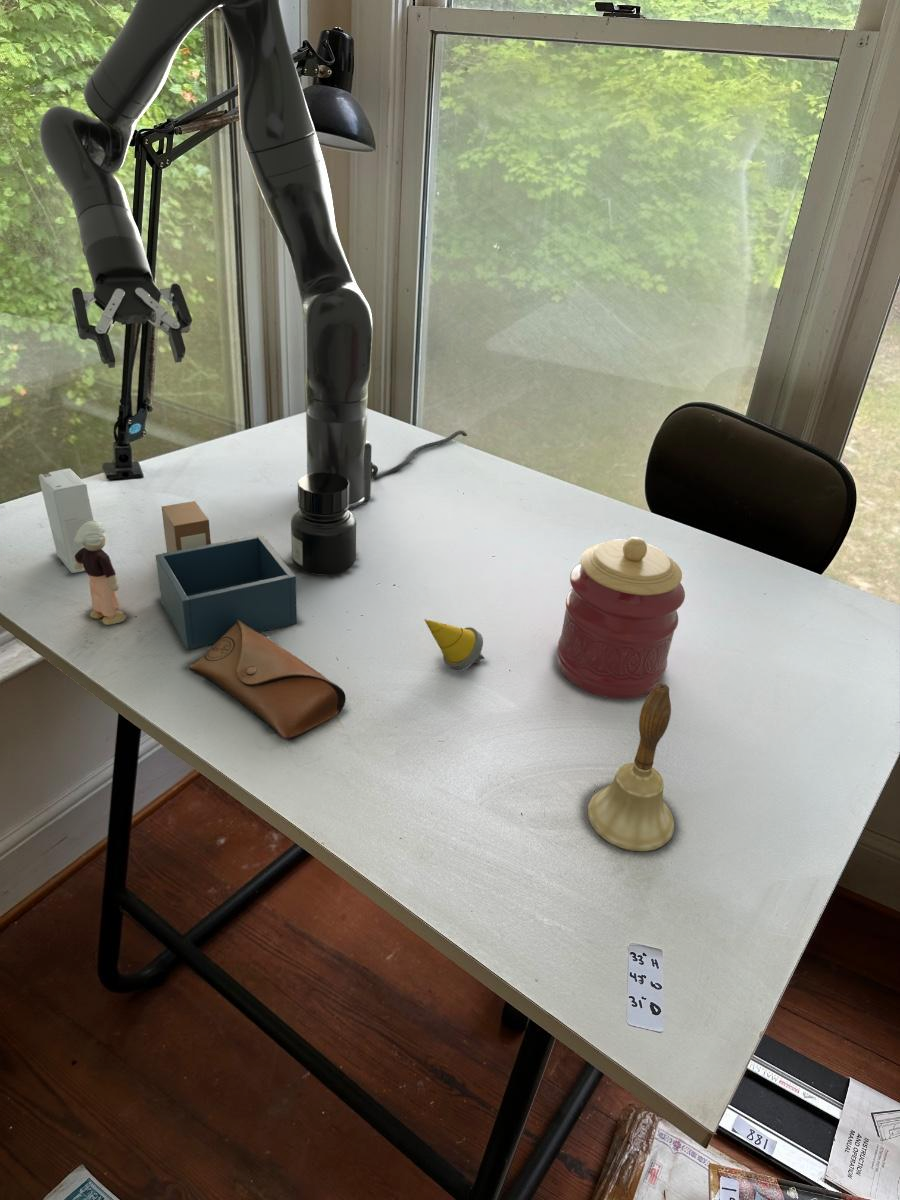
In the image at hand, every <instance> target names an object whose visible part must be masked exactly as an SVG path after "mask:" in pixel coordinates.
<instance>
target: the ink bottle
mask: <svg viewBox="0 0 900 1200" xmlns="http://www.w3.org/2000/svg"><path fill="white" fill-rule="evenodd" d="M349 490H350V483H349V482H348V479H346V478H344V477H343V476H340V475H337V474H334V473H326V472H323V473H312V474H308V475H307V474H305V475H303V476H302V477H300V478H299V480H298V481H297V503H298V510H297V511H296V512H295V513H294V514H293V515H292V517H291V520H290V539H291V541H290V543H291V544H290V545H291V560H292V563H293V565H294V566H295V568H297V569H298V570H299V571H301V572H304V573H307V574H311V575H315V576H317V575H318V576H334V575H339V574H342V573H344V572H347V571H348V570H349V569H351V568H352V567H353V566H354V564H355V563H356V560H357V525H358V524H357V519H356V517H355V515H354V513H352V511H350V510H349V509H350V508H349Z"/></svg>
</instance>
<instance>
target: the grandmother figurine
mask: <svg viewBox="0 0 900 1200" xmlns="http://www.w3.org/2000/svg"><path fill="white" fill-rule="evenodd" d="M74 541H75V542H76V543H78V544H83V546H84V548H82V549H81V550H79V551H78V552H77V553H76V554H75V559H76V561H75V562H76V563H75V567H76V568H77V569H82V568H83V567H84V569H85V571H84V572H85V574H86V575H87V577H88V581H89V582H88V585H89V592H90V597H91V603H92V608H93V610H91V612H90V613H89V616H90V617H91V618H92V619H101V618H102V620H101V622H102V624H103V625H106V626H107V625H109V626H111V625H114V624H119V623H122V622H124V621H126V619H127V615H126V614H125V613H124V611H121V610H117V609H118V608H119V606H120V603H119V599H118V596H117V591H119V589H120V585H119V583H118V579H117V575H116V571H115V569H114V566H113V564H112V561H111V557H110V556H109V554H107V552H105V551H104V550H103V548H104V547H105V545H106V542H107V541H106V536H105V528H104V526H103V524H102V523H101V522H99V521H98V520H93V521H90V522H87V523H85V524H84V525H82V526H81V527H80V529H79V530H78V532H77V535H76V537H75V540H74Z"/></svg>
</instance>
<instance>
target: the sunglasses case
mask: <svg viewBox="0 0 900 1200" xmlns="http://www.w3.org/2000/svg"><path fill="white" fill-rule="evenodd" d="M236 621H237V623H236V624H235V625H234V626H232V627H231V628H230V629H229V630H228V631H227V632H226V633H225V634H224V635H223V636H222V637H221V638H220V639H219V640H218V641H217V642H216V643H214V644H212V646H211V647H209V649H208V650H207V651H206V652H204V653H203V655H202V656H201V657H200V658H199V659H198V660H197V661H195V662H193V663H191V664H189V665H188V669H189V670H191V671H192V672H194V673H196V674H198V675H199V676H201V677H203V678H205V679H206V680H208V681H210V682H211V683H213V684H214V685H215V686H217V687H219V688H220V689H221V690H223V691H224V692H225V693H227V694H228V695H229V696H231V697H232V698H234V699H235V700H236V701H237V702H239V703H240V704H241V705H243V706H244V707H245V708H247V709H248V710H249V711H250V712H252V713H253V714H254V715H255V716H256V717H258V719H260V720H261V721H262V722H264V723H265V724H266V725H267V726H268V727H270V729H272V730H273V731H274V732H275V733H277V735H279V736H280V737H282V738H283V739H293V738H296V737H299V736H301V735H303V734H306V733H308V732H310V731H312V730H314V729H315V728H318V727H319V726H321V725H323V724H325V723H327V722H328V721H330V720H331V719H333V718H335V717H337V716H338V715H339V714H340V713H341V712H342V710H343V708H344V707H345V704H346V701H347V700H346V699H347V697H346V693H345V691H344V689H342V688H341V687H340V686H339V685H337V684H336V683H334V682H332V681H331V680H329V679H328V678H327V677H325V676H324V675H323V674H321V672H318V670H316V669H314V668H313V667H311V666H310V665H308V664H307V663H306V662H304V661H303V660H301V659H300V658H299V657H297V656H295V654H293V653H291V652H290V651H289V650H286V649H284V648H283V647H282V646H280V645H279V644H278V643H275V642H274V641H272V640H271V639H270V638H268V637H266V636H265V635H263V634H261V632H259V633H258V632H256V631H254V630H253V629H251V628H249V627H248V626H246V625H245V624H243V623H242V622H241V621H239V620H236Z"/></svg>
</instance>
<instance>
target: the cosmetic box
mask: <svg viewBox="0 0 900 1200" xmlns="http://www.w3.org/2000/svg"><path fill="white" fill-rule="evenodd" d="M38 479H39V485H40V488H41V493H42V497H43V498H42V499H43V501H44V506H45V509H46V513H47V518H48V522H49V527H50V531H51V534H52V535H51V536H52V539H53V543H54V548H55V552H56V556H57V557H58V558H59V559H60V561H61V562H62V563H63V564H64V565H65V567H66V568H67V569H68V571H69V572H70V573H71V574H76V573H82V572H85V569H84V567H83V568H82V569H77V568H76V567H75V563H76V562H75V561H76V559H75V554H76V553H77V552H78V551H79V550H81V549H82V548H84V546H83V544H78V543H76V542H75V541H74V540H75V537H76V535H77V532H78V530H79V529H80V527H81V526H82V525H84V524H85V523H87V522H90V521H94V517H93V511H92V506H91V502H90V497H89V491H88V487H87V483H86V482H85V481H83V479H81V478H80V477H79V475H78V474H76V473H75V472H74V471H73V469H71V467H69V468H63V469H59V470H55V471H54V470H53V471H49V472H44V473H40V474H38Z"/></svg>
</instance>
